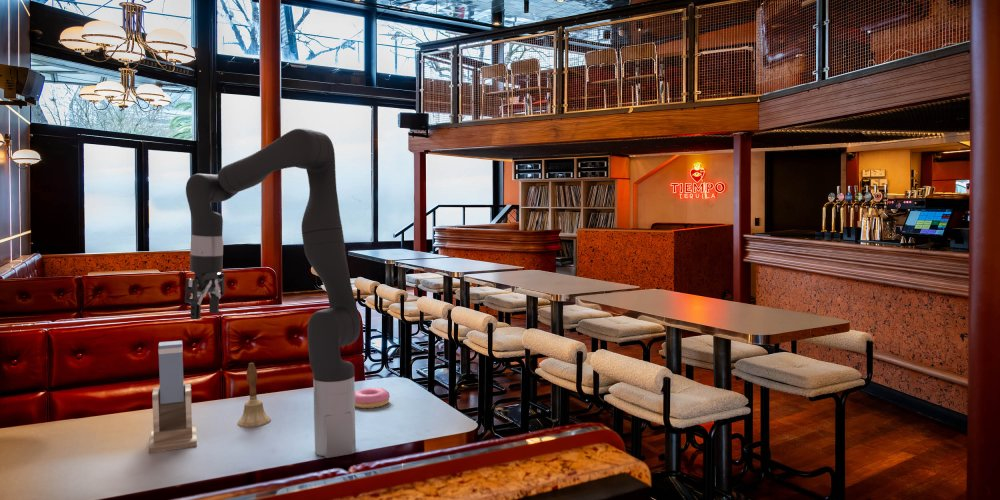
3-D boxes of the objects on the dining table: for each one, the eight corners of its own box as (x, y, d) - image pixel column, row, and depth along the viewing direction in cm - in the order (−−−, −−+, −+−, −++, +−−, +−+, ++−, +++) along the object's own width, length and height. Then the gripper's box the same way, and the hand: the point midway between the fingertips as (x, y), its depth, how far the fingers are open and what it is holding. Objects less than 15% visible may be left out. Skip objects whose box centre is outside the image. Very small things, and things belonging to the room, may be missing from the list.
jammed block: (184, 401, 155) (182, 344, 154) (160, 404, 152) (158, 346, 152) (184, 396, 159) (182, 340, 158) (161, 398, 157) (159, 342, 156)
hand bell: (248, 429, 164) (246, 368, 163) (231, 423, 169) (229, 363, 168) (277, 421, 171) (275, 362, 170) (259, 415, 176) (257, 358, 175)
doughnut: (364, 412, 178) (363, 398, 178) (344, 404, 186) (344, 390, 186) (397, 404, 185) (397, 390, 185) (377, 397, 194) (376, 383, 193)
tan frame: (196, 445, 152) (195, 393, 152) (149, 453, 148) (147, 399, 147) (195, 428, 165) (194, 380, 164) (151, 434, 160) (150, 385, 160)
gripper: (205, 257, 154) (203, 322, 156) (235, 251, 168) (233, 312, 170) (175, 254, 155) (174, 320, 157) (208, 249, 169) (206, 309, 171)
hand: (205, 315), depth 163 cm, fingers open, 8 cm apart
